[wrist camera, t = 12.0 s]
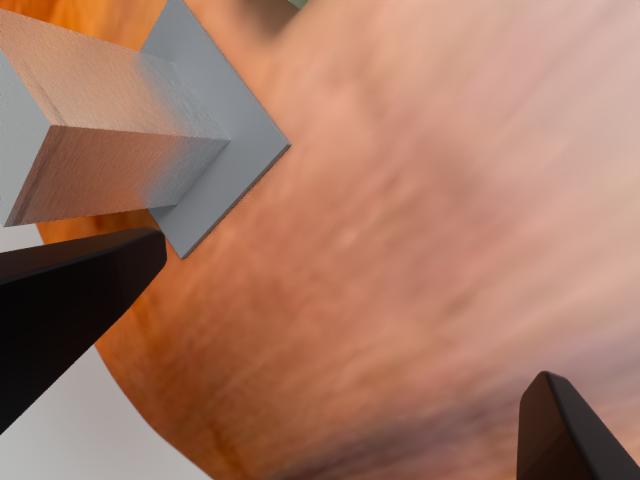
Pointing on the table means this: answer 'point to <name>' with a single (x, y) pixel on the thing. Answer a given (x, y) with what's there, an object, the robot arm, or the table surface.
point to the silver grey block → (93, 126)
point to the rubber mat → (232, 115)
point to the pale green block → (298, 3)
